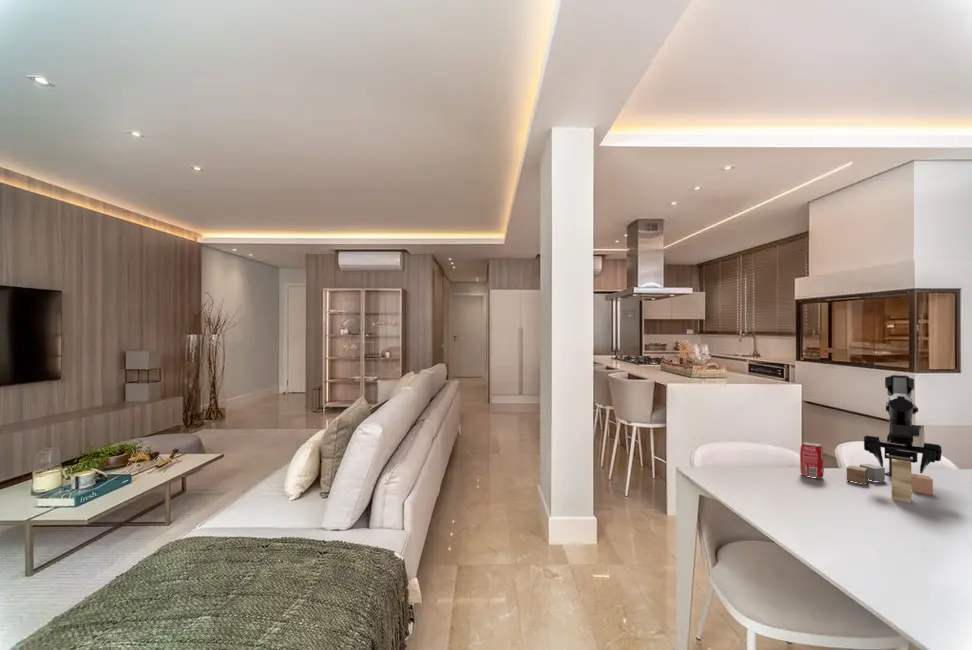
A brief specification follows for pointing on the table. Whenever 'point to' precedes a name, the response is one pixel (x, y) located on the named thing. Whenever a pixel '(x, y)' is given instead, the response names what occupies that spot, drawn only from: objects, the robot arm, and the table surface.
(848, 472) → the walnut block
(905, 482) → the tall oak block
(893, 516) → the table surface
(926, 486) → the terracotta block
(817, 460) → the soda can
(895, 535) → the table surface
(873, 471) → the slate grey block
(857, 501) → the table surface
